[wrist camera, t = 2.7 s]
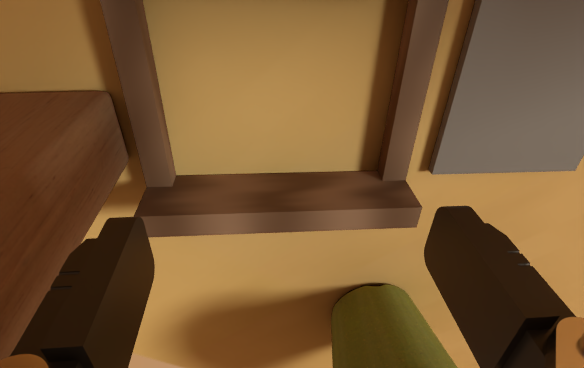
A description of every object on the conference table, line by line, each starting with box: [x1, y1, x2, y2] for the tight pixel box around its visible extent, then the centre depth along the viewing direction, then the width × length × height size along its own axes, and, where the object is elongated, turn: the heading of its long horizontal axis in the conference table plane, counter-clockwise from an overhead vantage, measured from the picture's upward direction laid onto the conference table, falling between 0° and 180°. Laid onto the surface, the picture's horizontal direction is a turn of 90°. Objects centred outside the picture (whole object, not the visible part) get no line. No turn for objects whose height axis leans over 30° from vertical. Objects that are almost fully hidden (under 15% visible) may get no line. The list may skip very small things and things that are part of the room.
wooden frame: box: [100, 0, 449, 237], centre depth 18 cm, size 16×14×4 cm
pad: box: [429, 0, 584, 174], centre depth 21 cm, size 10×11×1 cm
